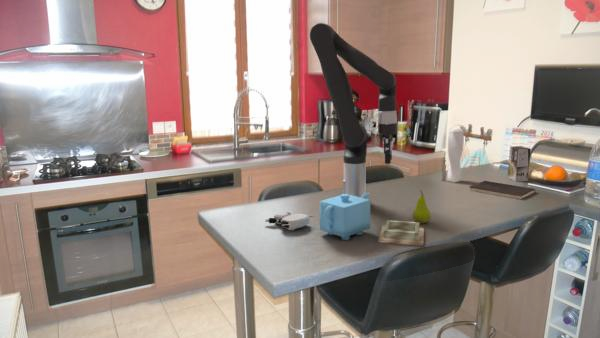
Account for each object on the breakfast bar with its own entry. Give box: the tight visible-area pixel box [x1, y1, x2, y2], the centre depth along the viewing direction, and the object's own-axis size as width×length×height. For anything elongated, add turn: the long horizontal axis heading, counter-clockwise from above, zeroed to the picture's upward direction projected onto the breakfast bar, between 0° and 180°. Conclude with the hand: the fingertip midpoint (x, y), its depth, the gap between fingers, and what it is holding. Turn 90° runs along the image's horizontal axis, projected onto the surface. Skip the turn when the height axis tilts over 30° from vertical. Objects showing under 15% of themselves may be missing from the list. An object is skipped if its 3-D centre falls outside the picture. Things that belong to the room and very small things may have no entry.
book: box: [468, 180, 536, 200], centre depth 203 cm, size 16×23×2 cm
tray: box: [378, 219, 425, 246], centre depth 150 cm, size 14×14×4 cm
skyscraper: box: [441, 124, 465, 184], centre depth 222 cm, size 8×8×28 cm
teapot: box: [319, 191, 371, 241], centre depth 153 cm, size 22×11×14 cm, turn 132°
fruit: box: [412, 189, 431, 224], centre depth 162 cm, size 6×6×12 cm
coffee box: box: [507, 145, 532, 182], centre depth 223 cm, size 9×6×16 cm
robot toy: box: [264, 212, 315, 231], centre depth 162 cm, size 12×4×15 cm
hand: (388, 161), depth 184 cm, fingers open, 8 cm apart
